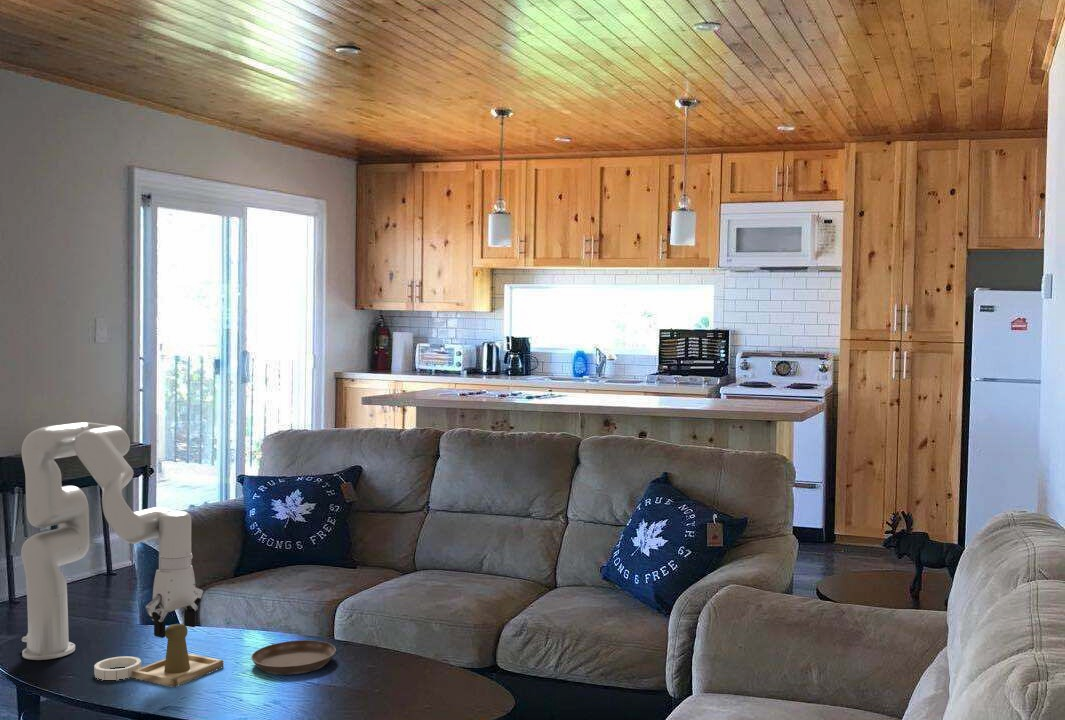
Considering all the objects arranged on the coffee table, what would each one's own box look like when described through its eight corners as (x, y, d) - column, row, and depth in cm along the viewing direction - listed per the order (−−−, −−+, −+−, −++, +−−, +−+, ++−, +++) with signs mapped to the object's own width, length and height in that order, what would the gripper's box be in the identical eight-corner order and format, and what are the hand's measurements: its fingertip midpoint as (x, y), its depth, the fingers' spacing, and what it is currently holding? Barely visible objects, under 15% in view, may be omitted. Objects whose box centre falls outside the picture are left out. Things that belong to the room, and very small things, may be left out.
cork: (182, 674, 263) (181, 629, 262) (159, 672, 264) (158, 628, 263) (194, 665, 268) (193, 622, 268) (172, 664, 270) (171, 620, 269)
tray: (132, 678, 262) (132, 671, 262) (182, 659, 276) (182, 652, 276) (174, 687, 256) (174, 679, 256) (223, 667, 270) (223, 660, 270)
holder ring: (85, 676, 264) (85, 666, 264) (120, 663, 273) (120, 654, 273) (115, 683, 259) (115, 673, 259) (150, 670, 268) (150, 660, 268)
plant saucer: (234, 673, 266) (233, 659, 266) (283, 648, 285) (283, 635, 285) (305, 683, 259) (305, 669, 258) (351, 657, 278) (351, 644, 278)
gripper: (190, 553, 274) (190, 620, 275) (136, 567, 259) (136, 638, 260) (212, 557, 271) (212, 624, 272) (158, 572, 255) (158, 643, 256)
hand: (175, 631), depth 266 cm, fingers open, 9 cm apart
